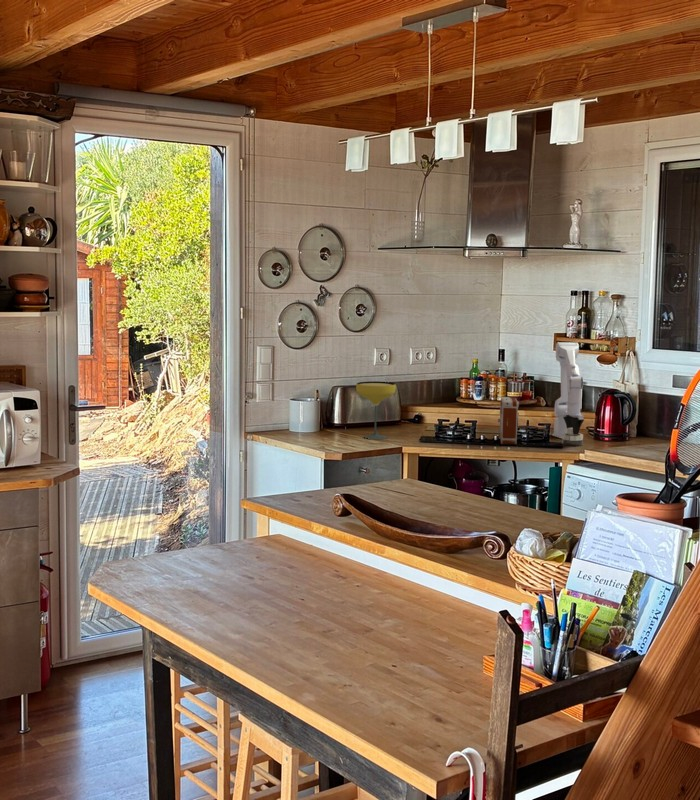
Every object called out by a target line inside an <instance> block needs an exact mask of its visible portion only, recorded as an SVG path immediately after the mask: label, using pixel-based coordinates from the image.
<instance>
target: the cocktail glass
mask: <svg viewBox="0 0 700 800" xmlns="http://www.w3.org/2000/svg"><path fill="white" fill-rule="evenodd" d="M396 385H397V384H396V383H394V382H389V381H378V380H377V381H374V380H373V381H371V380H370V381H360V382H357V383H356V385H355V390H356V393H357V394H358V395H360V397H362V398H364V399H366V400H368V401H369V402H371V404H372V405H373V406H374V429H373V433H372V434H369V435H364V436H363V438H364V437H365V438H369V439H368V440H370V439H382V440H386V439H388V436H386V435H381V434H378V432H377V431H378V430H377V406H379V404H380V403H381V402H382V401H384V400H386V399H387V398H390V397H391V396H393V395H394V394H395V393H396V389H397V386H396ZM365 438H364V439H365Z"/></svg>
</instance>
